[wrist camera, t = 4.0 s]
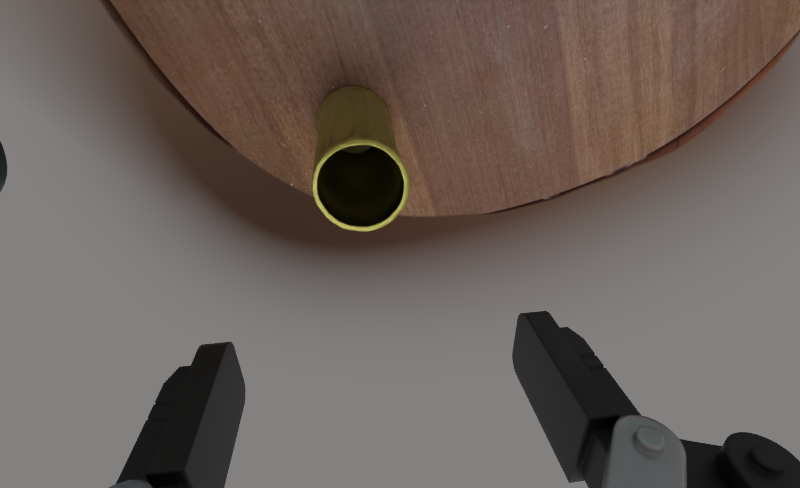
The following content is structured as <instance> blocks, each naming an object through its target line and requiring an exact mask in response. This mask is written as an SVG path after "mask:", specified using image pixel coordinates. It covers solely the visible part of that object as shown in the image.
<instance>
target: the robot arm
mask: <svg viewBox="0 0 800 488" xmlns="http://www.w3.org/2000/svg"><path fill="white" fill-rule="evenodd" d="M512 357H513V364H514V369H515V372H516V375H517V377H518V379H519V381H520V383H521V385H522V387H523V389H524V391H525V393H526V395H527V397H528V399H529V401H530V404H531V406H532V407H533V410H534V412H535V414H536V416H537V418H538V420H539V422H540V424H541V426H542V428H543V430H544V432H545V434H546V436H547V438H548V440H549V442H550V444H551V447H552V448H553V451H554V453H555V455H556V456H557V459H558V461H559V463H560V465H561V467H562V469H563V471H564V473H565V475H566V477H567V479H568V481H569V483H571V482H577V481H584V480H585V482H586V483H587V485H588V487H589V488H800V462H799V461H798V459H797V458H795V457H794V456H793V455H792V454H791V453H790V452H789V451H787V450H786V449H784V448H783V447H781V446H780V445H778V444H777V443H775V442H773V441H771V440H769V439H767V438H765V437H762V436H759V435H756V434H752V433H746V432H739V433H734V434H731V435H730V436H729V437H727V439H726V441H725V443H724V444H723V446H717V445H710V444H705V443H699V442H693V441H687V440H682V439H678V437H677V436H676V435H675V434H674V433H673V432H672V431H671V430H670V429H668V428H667V427H666V426H664V425H663V424H661V423H659V422H658V421H656V420H653V419H651V418H648V417H645V416H641V414H640V413H639V412H638V411H637V409H636V408H635V407H634V405H633V404H632V403H631V401H630V400H629V399H628V397H627V396H626V395H625V393H624V392H623V391H622V389H621V388H620V387H619V385H618V384H617V383H616V381H615V380H614V379H613V377H612V376H611V375H610V373H609V372H608V371H607V369H606V368H604V367H603V364H602V363H601V361H600V360H599V359H598V357H597V356H595V355H594V352H593V351H592V349H591V348H590V347H589V345H588V344H587V343H586V341H585V340H584V339H583V338H582V337H581V336H579V335H578V334H576V333H575V332H574V331H572V330H571V329H569V328H568V327H563V328H559V326H558V325H557V323H556V322H555V320H554V319H553V318H552V316H551V315H550V313H548V312H547V311H541V312H531V313H521V314H520V315H519V316H518V320H517V327H516V333H515V340H514V347H513V355H512ZM155 402H156V404H155V405H154V406H153V407H152V410H151V412H150V414H149V416H148V420H147V421H146V422H145V424H144V426H143V429H142V431H141V433H140V435H139V437H138V439H137V441H136V443H135V445H134V447H133V450H132V452H131V454H130V456H129V458H128V460H127V462H126V464H125V466H124V469H123V470H122V473H121V475H120V477H119V479H118V481H117V483H116V484H115V485H113V486H111V487H110V488H224V485H225V482H226V477H227V473H228V469H229V465H230V461H231V457H232V453H233V449H234V445H235V441H236V437H237V432H238V428H239V424H240V420H241V416H242V412H243V407H244V403H245V384H244V379H243V376H242V372H241V369H240V365H239V362H238V359H237V355H236V352H235V349H234V346H233V344H232V343H231V342H224V343H214V344H205V345H201V346H200V347H199V348H198V350H197V352H196V355H195V357H194V360H193V362H192V364H191V366H184V367H179V368H178V369H177V370H176V371H175V372H174V374H172V376H171V377H170V378H169V379H168V380H167V381H166V382H165V383H164V385H163V386H162V389H161V391H160V393H159V395H158V397H157V399H156V401H155Z"/></svg>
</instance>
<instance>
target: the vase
mask: <svg viewBox="0 0 800 488" xmlns="http://www.w3.org/2000/svg"><path fill="white" fill-rule="evenodd" d="M316 128H317V133H318V137H317V145H316V153H315V161H314V168H313V178H312V192H313V196H314V199H315V201H316V204H317V205H318V207H319V208H320V210H321V211H322V212H323V214H324V215H325V216H326V217H327V218H328V219H329V220H330V221H331V222H333V223H335V224H336V225H338V226H340V227H342V228H344V229H347V230H353V231H372V230H376V229H378V228H381V227H383V226H385V225H387V224H388V223H390V222H391V221H392V220H393V219H394V218H395V217H396V216H397V215H398V214H399V213H400V212H401V210H402V209H403V207H404V206H405V204H406V202H407V198H408V194H409V188H410V175H409V173H408V170H407V169H406V167H405V165H404V163H403V161H402V159H401V157H400V155H399V152H398V149H397V146H396V142H395V136H394V131H393V128H392V126H391V120H390V115H389V112H388V110H387V108H386V105H385V104H384V103H383V101H382V100H381V99H380V98H379V97H378V96H377V95H376V94H374V93H373V92H371V91H370V90H368V89H365V88H362V87H354V86H350V87H343V88H340V89H338V90H336V91H334V92H332V93H331V94H330V95H328V96H327V97H326V98H325V99H324V101H323V102H322V104H321V106H320V108H319V110H318V113H317V118H316Z"/></svg>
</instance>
